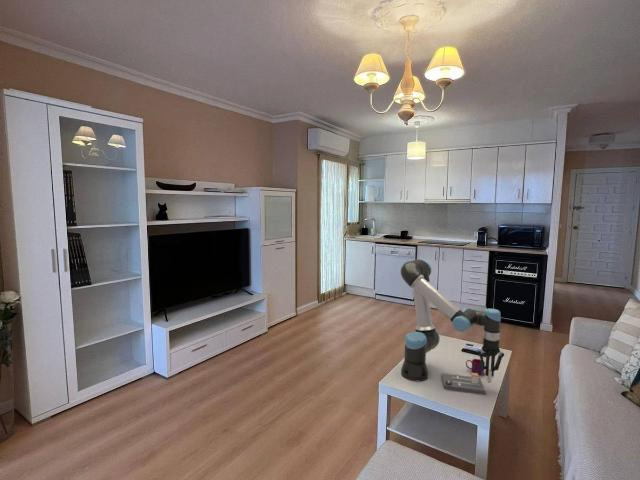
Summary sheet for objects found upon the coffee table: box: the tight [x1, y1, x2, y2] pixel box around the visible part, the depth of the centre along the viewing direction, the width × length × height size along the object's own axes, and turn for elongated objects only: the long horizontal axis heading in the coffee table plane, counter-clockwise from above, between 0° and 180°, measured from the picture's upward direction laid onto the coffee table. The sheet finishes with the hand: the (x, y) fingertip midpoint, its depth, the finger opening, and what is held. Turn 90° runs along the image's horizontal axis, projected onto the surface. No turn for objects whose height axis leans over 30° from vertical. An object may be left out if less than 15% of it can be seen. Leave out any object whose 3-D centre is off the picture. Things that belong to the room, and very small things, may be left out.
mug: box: [465, 358, 486, 376], centre depth 203 cm, size 7×10×7 cm
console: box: [441, 372, 486, 395], centre depth 188 cm, size 20×14×3 cm
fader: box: [470, 372, 480, 384], centre depth 186 cm, size 3×3×5 cm
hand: (489, 381), depth 184 cm, fingers closed
